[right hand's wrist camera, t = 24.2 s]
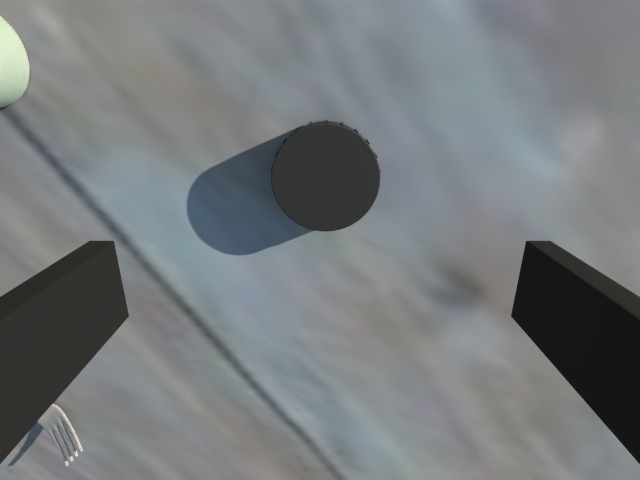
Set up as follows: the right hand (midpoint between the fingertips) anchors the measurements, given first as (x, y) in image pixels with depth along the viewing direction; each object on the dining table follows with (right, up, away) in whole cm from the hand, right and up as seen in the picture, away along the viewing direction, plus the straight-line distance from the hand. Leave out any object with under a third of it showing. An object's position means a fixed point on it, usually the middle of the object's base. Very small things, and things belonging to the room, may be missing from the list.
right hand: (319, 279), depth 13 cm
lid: (0, +5, +9) cm, 10 cm away
